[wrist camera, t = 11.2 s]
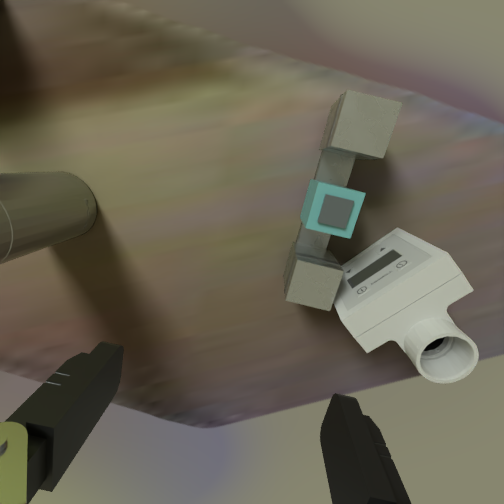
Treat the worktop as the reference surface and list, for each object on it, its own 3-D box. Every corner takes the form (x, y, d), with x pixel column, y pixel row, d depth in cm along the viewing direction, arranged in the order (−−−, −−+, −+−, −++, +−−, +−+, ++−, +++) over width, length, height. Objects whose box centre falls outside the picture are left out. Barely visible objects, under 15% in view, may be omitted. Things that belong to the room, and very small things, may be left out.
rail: (282, 271, 43) (284, 300, 34) (328, 107, 36) (347, 88, 27) (318, 280, 43) (330, 311, 34) (370, 118, 36) (403, 102, 27)
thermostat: (397, 226, 40) (467, 262, 25) (450, 302, 42) (541, 374, 28) (322, 278, 43) (347, 336, 28) (376, 346, 45) (424, 431, 31)
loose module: (310, 179, 37) (319, 182, 30) (349, 188, 37) (366, 193, 30) (300, 217, 39) (305, 228, 32) (337, 225, 39) (351, 239, 32)
